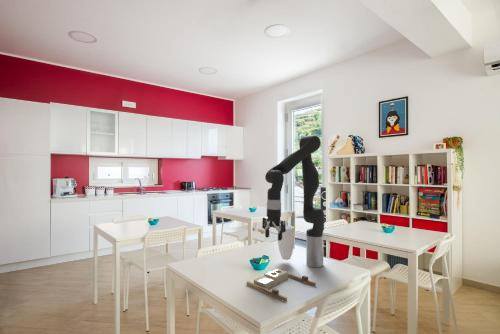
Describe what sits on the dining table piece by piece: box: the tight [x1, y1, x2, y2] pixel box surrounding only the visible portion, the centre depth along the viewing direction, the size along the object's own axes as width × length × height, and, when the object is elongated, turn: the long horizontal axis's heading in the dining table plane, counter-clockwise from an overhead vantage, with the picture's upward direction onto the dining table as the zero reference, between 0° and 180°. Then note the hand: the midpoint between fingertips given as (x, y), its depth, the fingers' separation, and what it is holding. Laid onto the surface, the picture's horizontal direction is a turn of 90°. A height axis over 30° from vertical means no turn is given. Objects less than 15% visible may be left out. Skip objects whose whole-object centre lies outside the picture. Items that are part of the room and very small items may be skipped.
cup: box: [277, 224, 296, 261], centre depth 166 cm, size 10×10×22 cm
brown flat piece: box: [246, 272, 317, 302], centre depth 135 cm, size 24×24×3 cm
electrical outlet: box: [253, 268, 289, 289], centre depth 139 cm, size 7×4×18 cm
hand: (273, 238), depth 148 cm, fingers open, 8 cm apart
